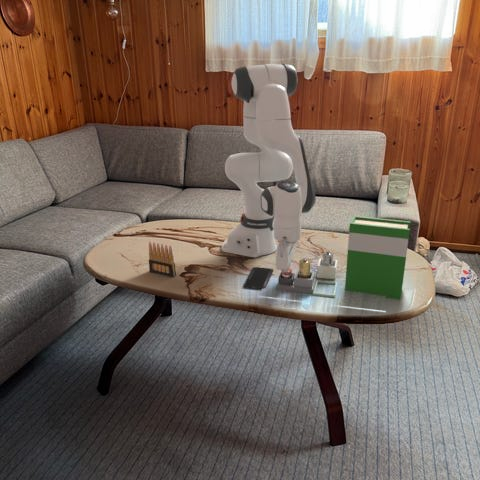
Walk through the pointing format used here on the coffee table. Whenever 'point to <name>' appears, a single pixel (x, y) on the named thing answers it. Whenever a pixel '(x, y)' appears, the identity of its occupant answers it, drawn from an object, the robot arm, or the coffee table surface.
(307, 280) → the grey socket holder
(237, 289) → the coffee table surface
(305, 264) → the cell
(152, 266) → the ammunition clip
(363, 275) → the hardback book
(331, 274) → the white square bin
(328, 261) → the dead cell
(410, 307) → the coffee table surface
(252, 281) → the phone
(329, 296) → the pale green rectangular frame
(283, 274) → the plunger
